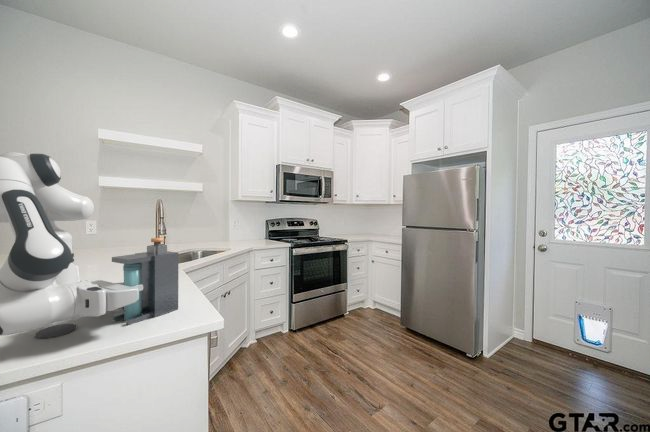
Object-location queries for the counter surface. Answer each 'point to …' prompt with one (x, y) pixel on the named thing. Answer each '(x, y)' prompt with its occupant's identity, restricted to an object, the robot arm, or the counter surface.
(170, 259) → the housing
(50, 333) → the pad
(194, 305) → the counter surface
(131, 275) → the cartridge
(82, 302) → the robot arm
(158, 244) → the plunger
